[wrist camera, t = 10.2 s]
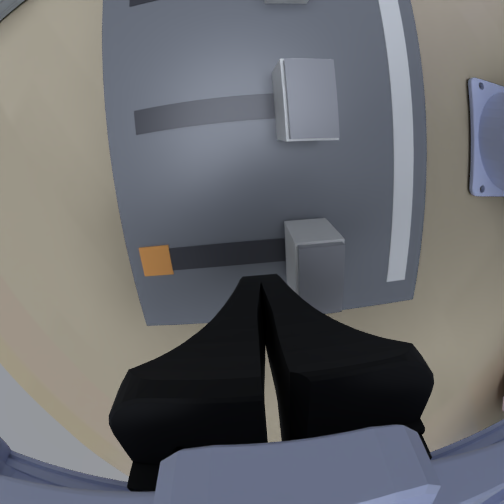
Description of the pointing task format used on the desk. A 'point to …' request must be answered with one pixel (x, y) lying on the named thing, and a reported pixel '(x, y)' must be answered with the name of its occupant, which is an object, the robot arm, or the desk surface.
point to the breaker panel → (263, 143)
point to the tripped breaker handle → (315, 262)
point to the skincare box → (8, 6)
